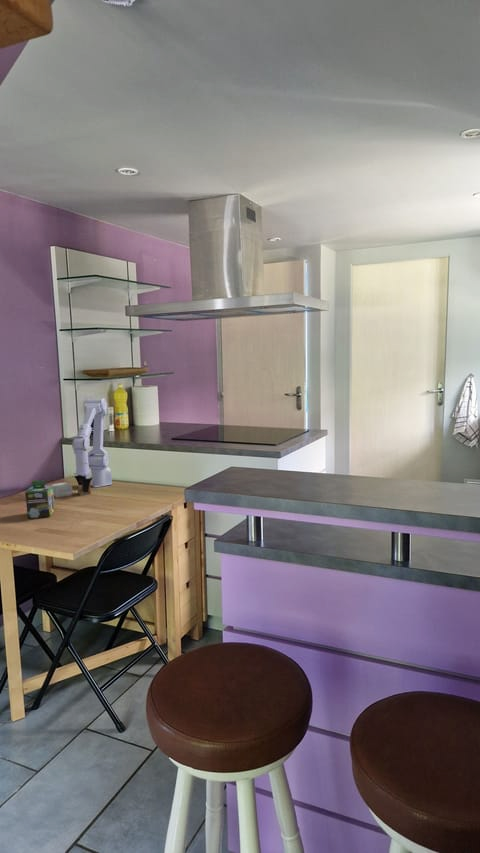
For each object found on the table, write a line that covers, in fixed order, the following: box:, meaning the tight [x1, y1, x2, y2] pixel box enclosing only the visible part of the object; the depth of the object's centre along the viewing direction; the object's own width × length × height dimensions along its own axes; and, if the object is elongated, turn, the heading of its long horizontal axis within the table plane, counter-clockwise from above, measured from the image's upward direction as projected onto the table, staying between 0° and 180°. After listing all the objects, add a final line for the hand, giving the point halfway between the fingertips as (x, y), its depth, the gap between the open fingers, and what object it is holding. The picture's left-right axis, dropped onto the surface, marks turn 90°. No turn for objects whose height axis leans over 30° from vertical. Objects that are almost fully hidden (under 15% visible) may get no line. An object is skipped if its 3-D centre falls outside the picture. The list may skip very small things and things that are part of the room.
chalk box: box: [24, 480, 56, 519], centre depth 224 cm, size 9×9×15 cm
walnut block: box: [77, 485, 92, 497], centre depth 257 cm, size 4×4×4 cm
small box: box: [52, 481, 73, 498], centre depth 257 cm, size 8×8×5 cm
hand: (84, 490), depth 257 cm, fingers closed on walnut block, 4 cm apart
